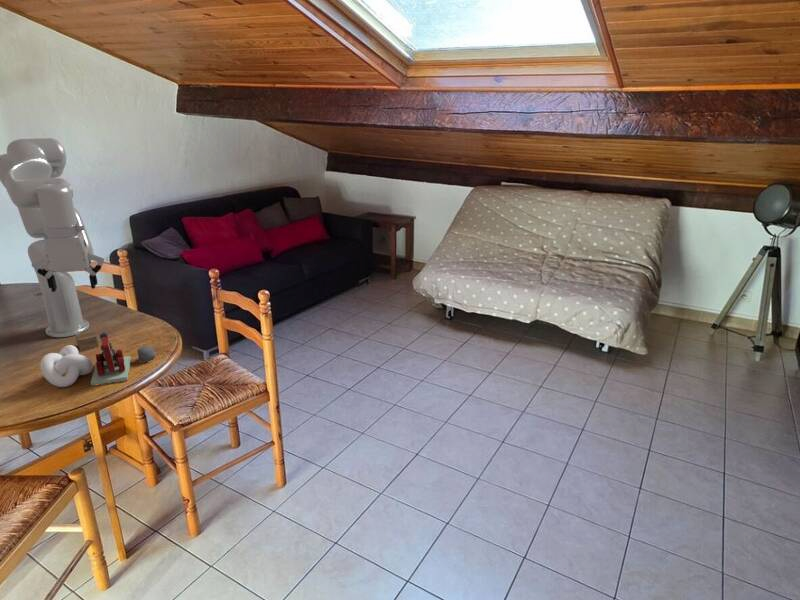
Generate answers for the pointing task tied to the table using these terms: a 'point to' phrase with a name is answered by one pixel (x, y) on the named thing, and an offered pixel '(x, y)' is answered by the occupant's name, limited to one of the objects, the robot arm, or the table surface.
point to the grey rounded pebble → (146, 354)
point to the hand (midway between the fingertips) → (74, 288)
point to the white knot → (65, 366)
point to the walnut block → (86, 340)
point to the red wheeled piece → (109, 357)
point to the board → (112, 373)
